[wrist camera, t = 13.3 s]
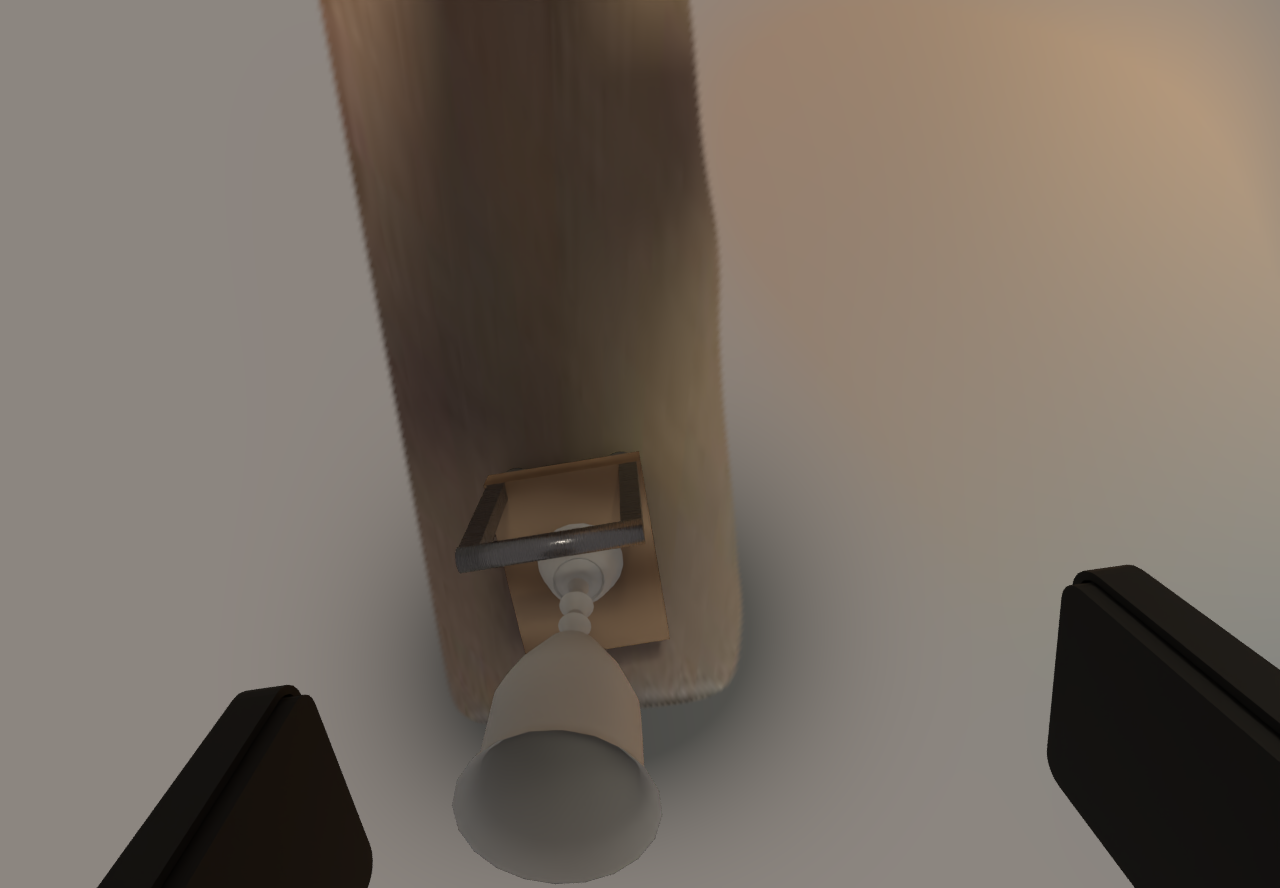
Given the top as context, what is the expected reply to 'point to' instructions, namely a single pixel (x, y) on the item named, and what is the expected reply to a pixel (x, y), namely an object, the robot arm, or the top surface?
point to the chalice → (562, 749)
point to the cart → (571, 544)
